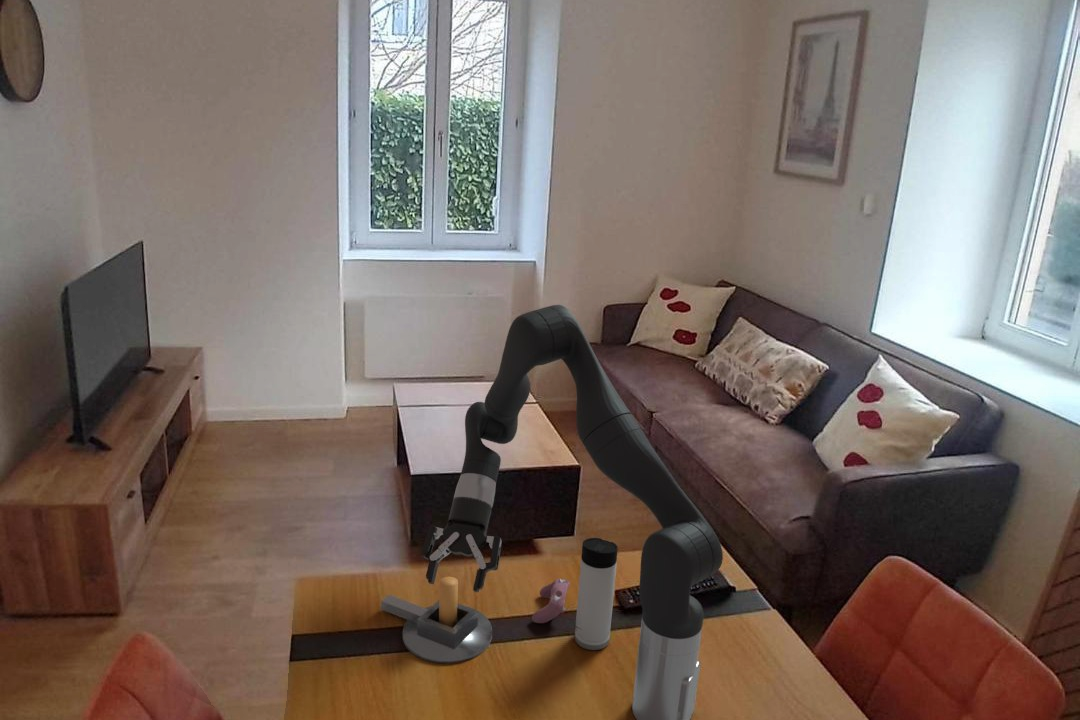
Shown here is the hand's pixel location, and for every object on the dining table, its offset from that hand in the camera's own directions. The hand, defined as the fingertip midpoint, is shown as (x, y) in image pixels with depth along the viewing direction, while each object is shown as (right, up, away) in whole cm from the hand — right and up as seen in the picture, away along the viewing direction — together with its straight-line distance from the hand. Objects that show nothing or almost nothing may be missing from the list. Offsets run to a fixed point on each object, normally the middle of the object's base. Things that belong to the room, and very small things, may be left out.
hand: (453, 587), depth 149 cm
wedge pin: (-1, -7, -1) cm, 7 cm away
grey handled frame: (-3, -7, 0) cm, 8 cm away
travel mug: (+25, -10, -1) cm, 27 cm away
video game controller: (+18, -7, +7) cm, 20 cm away
